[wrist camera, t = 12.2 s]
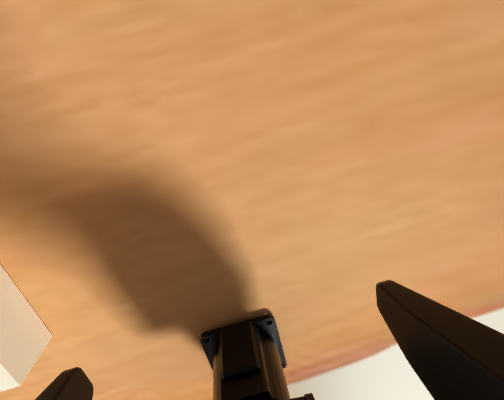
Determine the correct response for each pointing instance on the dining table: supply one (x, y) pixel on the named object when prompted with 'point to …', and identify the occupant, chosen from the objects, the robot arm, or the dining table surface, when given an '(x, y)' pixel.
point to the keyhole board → (18, 334)
